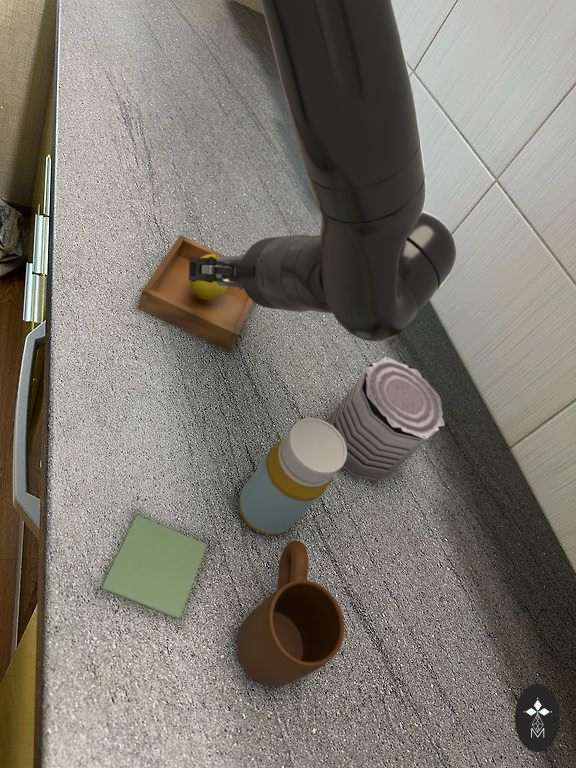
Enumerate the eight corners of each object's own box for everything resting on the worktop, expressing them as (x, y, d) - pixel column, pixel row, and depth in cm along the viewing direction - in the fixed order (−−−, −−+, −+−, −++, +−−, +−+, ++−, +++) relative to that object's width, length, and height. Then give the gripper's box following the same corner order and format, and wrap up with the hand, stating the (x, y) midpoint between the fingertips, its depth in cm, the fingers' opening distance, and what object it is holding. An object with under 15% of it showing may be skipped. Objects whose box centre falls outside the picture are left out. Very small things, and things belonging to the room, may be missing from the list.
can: (321, 400, 79) (361, 346, 71) (393, 417, 83) (439, 368, 74) (325, 473, 72) (370, 423, 64) (403, 488, 76) (456, 443, 67)
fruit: (222, 314, 81) (239, 274, 75) (183, 308, 79) (198, 266, 73) (219, 286, 84) (236, 245, 78) (182, 279, 82) (196, 237, 76)
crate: (137, 308, 77) (142, 289, 74) (175, 252, 86) (180, 234, 83) (230, 351, 78) (238, 335, 76) (257, 292, 87) (264, 275, 85)
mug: (235, 562, 61) (265, 528, 54) (301, 568, 64) (337, 536, 57) (234, 688, 54) (268, 666, 47) (308, 689, 56) (351, 669, 49)
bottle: (279, 475, 70) (332, 408, 59) (302, 528, 67) (363, 468, 56) (228, 488, 66) (274, 419, 55) (250, 545, 63) (303, 484, 52)
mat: (101, 589, 55) (101, 587, 54) (135, 516, 60) (136, 514, 60) (178, 619, 56) (179, 618, 55) (205, 546, 61) (207, 544, 61)
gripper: (351, 241, 61) (282, 247, 75) (226, 229, 54) (176, 237, 68) (346, 312, 62) (279, 304, 76) (224, 308, 56) (175, 300, 70)
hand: (230, 272), depth 72 cm, fingers open, 8 cm apart
